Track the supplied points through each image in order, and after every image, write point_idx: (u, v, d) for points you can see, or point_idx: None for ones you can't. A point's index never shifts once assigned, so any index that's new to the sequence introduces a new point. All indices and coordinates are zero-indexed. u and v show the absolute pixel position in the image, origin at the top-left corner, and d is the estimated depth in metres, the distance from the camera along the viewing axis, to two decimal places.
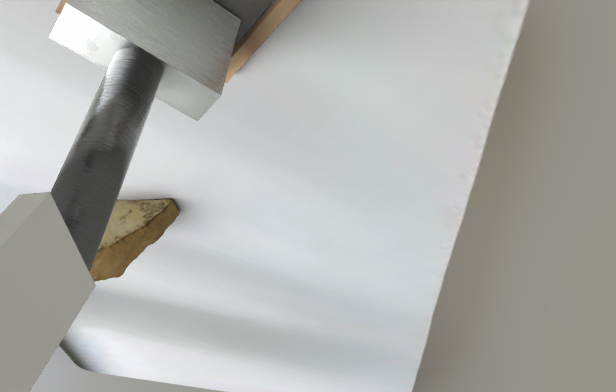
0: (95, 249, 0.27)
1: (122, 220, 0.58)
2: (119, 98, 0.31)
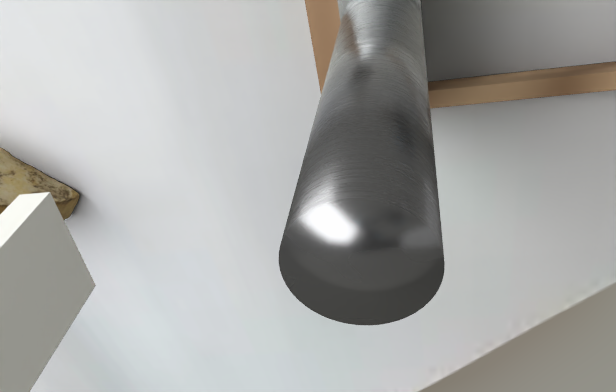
0: None
1: None
2: (422, 50, 0.18)
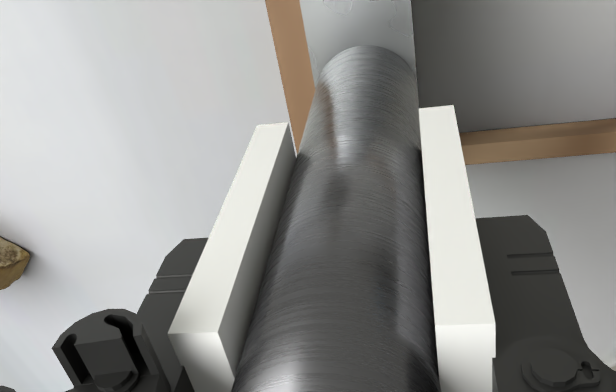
0: None
1: None
2: (418, 146, 0.13)
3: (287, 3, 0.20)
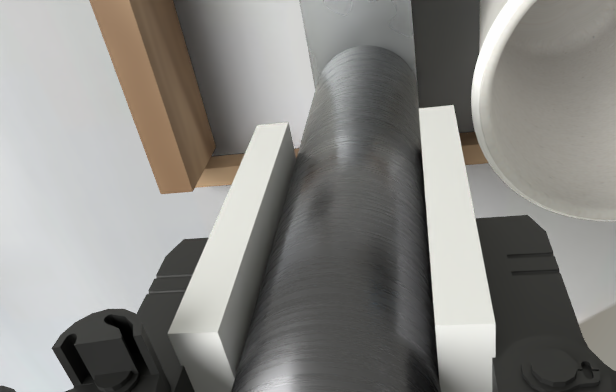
0: None
1: None
2: (418, 146, 0.13)
3: (119, 28, 0.22)
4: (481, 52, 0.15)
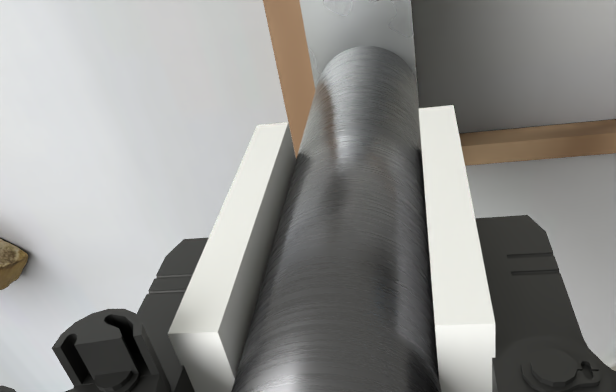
0: None
1: None
2: (418, 147, 0.13)
3: (285, 4, 0.20)
4: None
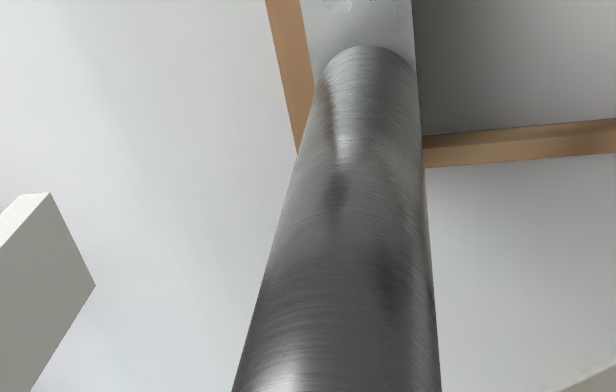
0: None
1: None
2: (419, 146, 0.13)
3: (287, 3, 0.20)
4: None
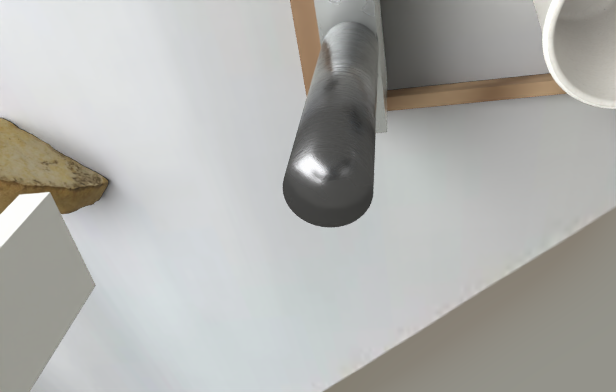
0: None
1: (44, 165, 0.44)
2: (374, 68, 0.27)
3: None
4: (550, 6, 0.27)
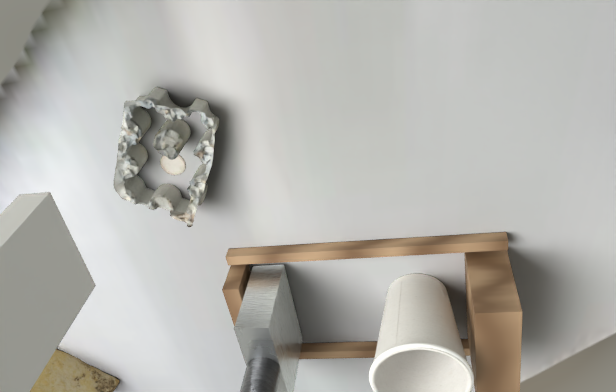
0: None
1: (76, 382, 0.64)
2: None
3: None
4: (370, 368, 0.47)
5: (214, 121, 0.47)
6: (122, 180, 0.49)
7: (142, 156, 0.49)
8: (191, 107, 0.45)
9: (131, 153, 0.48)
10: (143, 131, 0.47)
